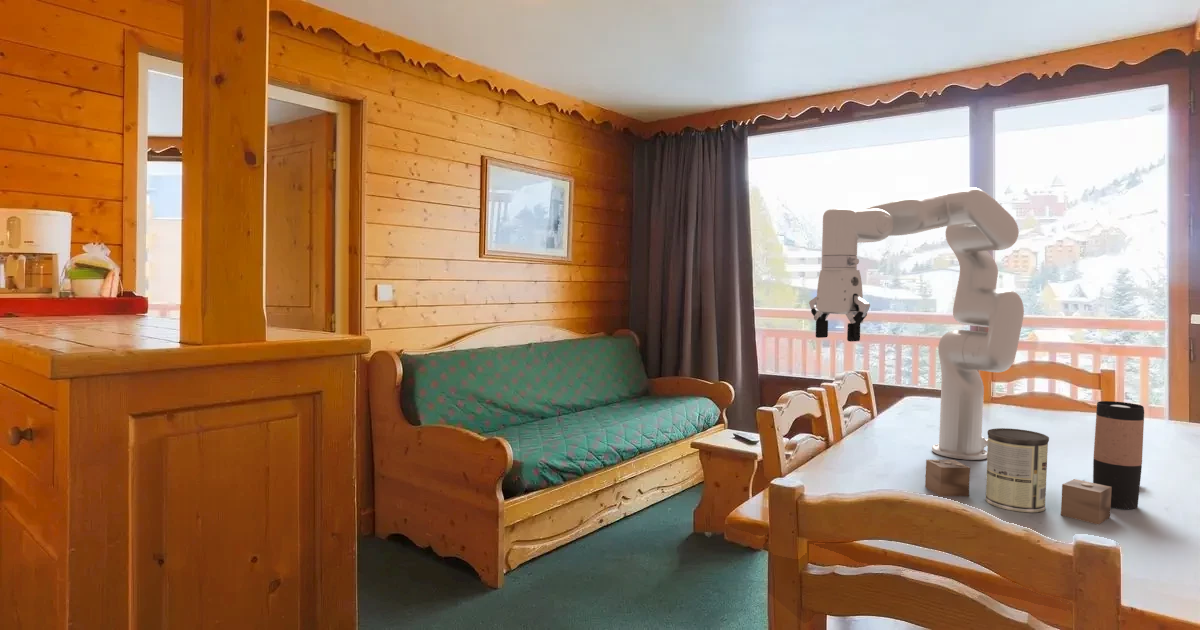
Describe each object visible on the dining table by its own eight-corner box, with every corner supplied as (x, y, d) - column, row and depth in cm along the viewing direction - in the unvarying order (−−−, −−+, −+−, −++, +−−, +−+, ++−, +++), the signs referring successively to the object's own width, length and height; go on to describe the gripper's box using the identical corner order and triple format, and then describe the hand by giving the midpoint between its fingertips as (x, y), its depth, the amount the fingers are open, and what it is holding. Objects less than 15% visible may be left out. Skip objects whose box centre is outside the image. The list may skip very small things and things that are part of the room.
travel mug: (1081, 497, 138) (1086, 400, 137) (1116, 497, 138) (1121, 400, 137) (1113, 510, 130) (1118, 408, 129) (1149, 510, 131) (1155, 408, 130)
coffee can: (982, 492, 140) (985, 425, 139) (1040, 500, 136) (1044, 431, 135) (987, 507, 131) (990, 436, 130) (1050, 516, 127) (1053, 442, 126)
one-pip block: (1072, 509, 131) (1074, 478, 131) (1110, 518, 126) (1111, 485, 126) (1060, 515, 127) (1062, 483, 127) (1098, 525, 123) (1100, 491, 122)
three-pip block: (952, 487, 144) (953, 458, 144) (968, 496, 138) (970, 466, 138) (925, 487, 144) (926, 458, 144) (940, 496, 138) (941, 466, 138)
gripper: (881, 263, 146) (879, 342, 147) (823, 264, 162) (822, 335, 163) (856, 263, 143) (854, 343, 144) (799, 264, 159) (797, 336, 160)
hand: (837, 339), depth 153 cm, fingers open, 9 cm apart
